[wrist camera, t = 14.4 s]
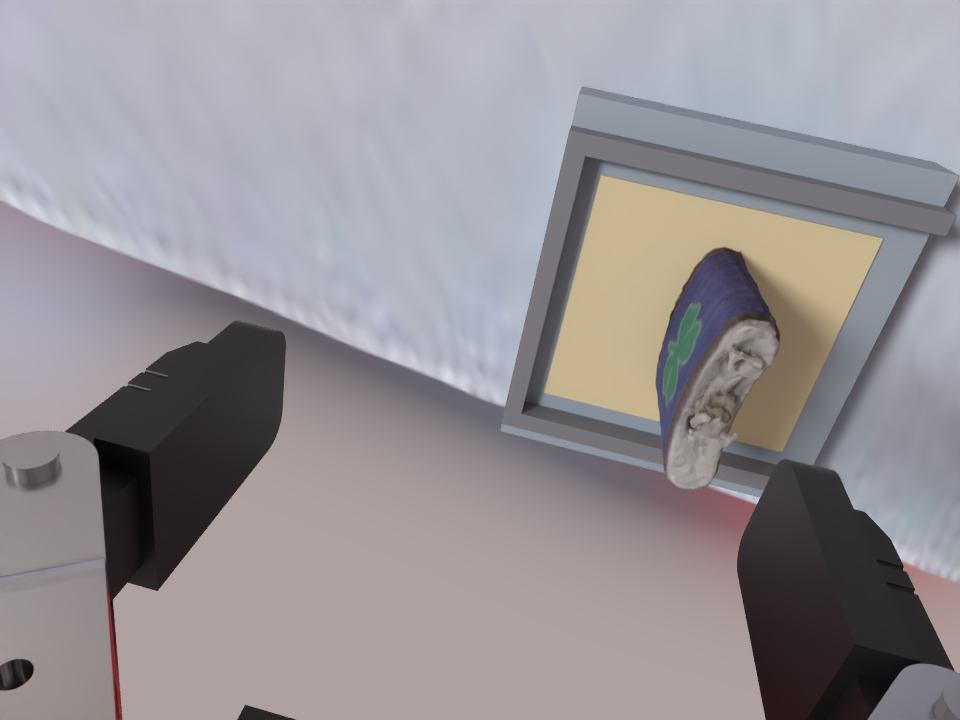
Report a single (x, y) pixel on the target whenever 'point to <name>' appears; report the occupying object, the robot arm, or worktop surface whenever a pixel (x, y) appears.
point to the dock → (682, 244)
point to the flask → (710, 364)
